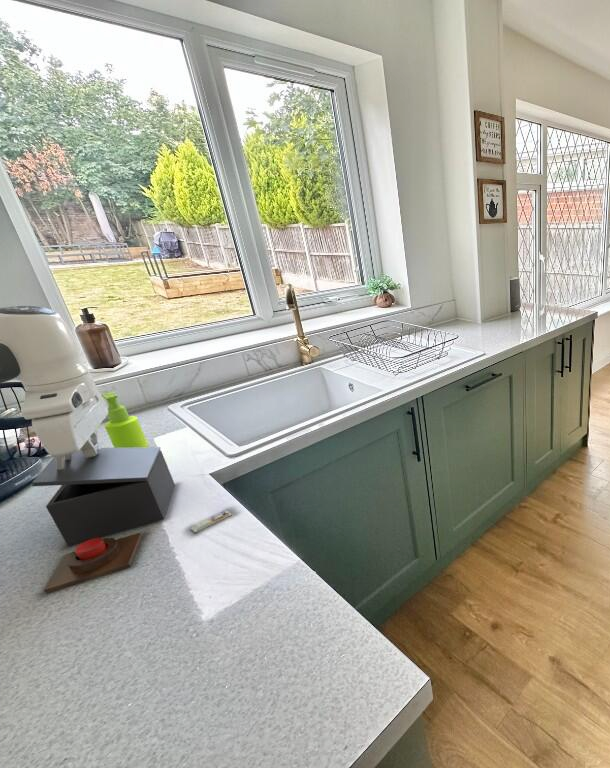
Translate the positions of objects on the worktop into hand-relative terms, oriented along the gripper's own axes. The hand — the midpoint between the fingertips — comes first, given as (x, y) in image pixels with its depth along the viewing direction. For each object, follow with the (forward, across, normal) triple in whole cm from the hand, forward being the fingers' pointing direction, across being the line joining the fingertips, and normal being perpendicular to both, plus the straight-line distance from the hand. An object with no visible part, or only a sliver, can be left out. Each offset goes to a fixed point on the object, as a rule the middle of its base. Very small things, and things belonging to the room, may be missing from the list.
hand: (93, 453), depth 84 cm
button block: (+14, +18, +1) cm, 23 cm away
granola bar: (+14, +16, +18) cm, 28 cm away
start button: (+11, +19, +1) cm, 22 cm away
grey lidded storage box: (+14, +4, +2) cm, 14 cm away
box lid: (+2, +4, +2) cm, 4 cm away
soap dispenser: (+14, -18, 0) cm, 23 cm away
